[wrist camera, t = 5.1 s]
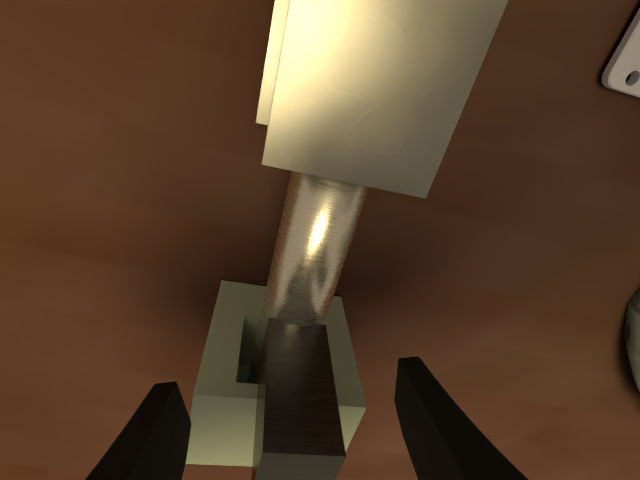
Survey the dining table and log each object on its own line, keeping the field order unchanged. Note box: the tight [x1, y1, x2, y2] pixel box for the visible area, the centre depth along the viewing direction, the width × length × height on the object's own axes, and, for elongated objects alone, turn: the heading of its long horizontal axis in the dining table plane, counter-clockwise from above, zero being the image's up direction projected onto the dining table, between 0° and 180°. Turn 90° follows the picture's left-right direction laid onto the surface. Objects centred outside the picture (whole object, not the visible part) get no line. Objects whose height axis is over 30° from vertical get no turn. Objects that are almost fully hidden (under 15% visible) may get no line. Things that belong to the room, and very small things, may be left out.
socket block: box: [185, 280, 366, 466], centre depth 16 cm, size 6×4×6 cm, turn 76°
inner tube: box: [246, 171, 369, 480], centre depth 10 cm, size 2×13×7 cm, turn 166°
